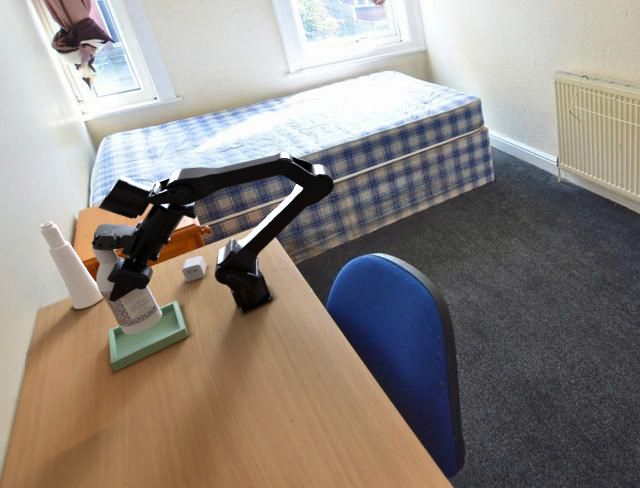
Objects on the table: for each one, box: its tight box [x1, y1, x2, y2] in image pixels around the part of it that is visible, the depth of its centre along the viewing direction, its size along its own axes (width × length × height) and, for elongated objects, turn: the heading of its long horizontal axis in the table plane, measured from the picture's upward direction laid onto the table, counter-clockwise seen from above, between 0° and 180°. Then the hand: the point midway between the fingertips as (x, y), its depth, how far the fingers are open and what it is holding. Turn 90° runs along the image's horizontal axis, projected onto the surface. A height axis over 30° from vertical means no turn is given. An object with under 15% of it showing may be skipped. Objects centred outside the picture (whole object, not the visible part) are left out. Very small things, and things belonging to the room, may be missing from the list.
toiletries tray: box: [108, 300, 189, 372], centre depth 100 cm, size 13×13×2 cm
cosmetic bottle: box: [39, 221, 104, 310], centre depth 110 cm, size 6×6×22 cm
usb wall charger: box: [181, 255, 207, 282], centre depth 120 cm, size 4×7×4 cm, turn 25°
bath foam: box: [91, 247, 162, 335], centre depth 95 cm, size 7×7×20 cm
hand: (116, 290), depth 95 cm, fingers closed on bath foam, 7 cm apart
